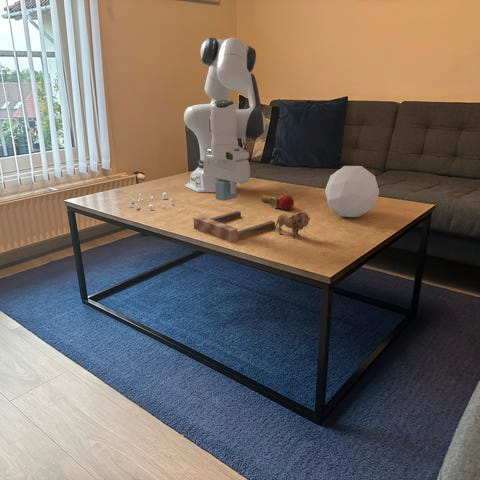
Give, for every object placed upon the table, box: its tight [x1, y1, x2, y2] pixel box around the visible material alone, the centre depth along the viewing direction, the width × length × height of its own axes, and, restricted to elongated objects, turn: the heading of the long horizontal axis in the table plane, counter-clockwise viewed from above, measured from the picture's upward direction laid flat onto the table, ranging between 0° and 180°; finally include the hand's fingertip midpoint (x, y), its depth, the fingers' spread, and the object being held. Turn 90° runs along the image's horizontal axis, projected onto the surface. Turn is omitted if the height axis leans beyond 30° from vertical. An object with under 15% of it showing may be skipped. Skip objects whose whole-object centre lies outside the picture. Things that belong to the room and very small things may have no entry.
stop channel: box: [193, 210, 276, 243], centre depth 163 cm, size 20×21×4 cm
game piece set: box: [128, 192, 175, 211], centre depth 195 cm, size 19×20×4 cm
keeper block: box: [215, 180, 238, 202], centre depth 157 cm, size 4×6×6 cm, turn 133°
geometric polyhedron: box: [324, 165, 380, 218], centre depth 172 cm, size 19×20×20 cm
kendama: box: [260, 193, 295, 211], centre depth 188 cm, size 8×6×18 cm
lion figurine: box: [271, 211, 311, 240], centre depth 154 cm, size 15×5×9 cm, turn 52°
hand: (226, 192), depth 157 cm, fingers closed on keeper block, 4 cm apart
